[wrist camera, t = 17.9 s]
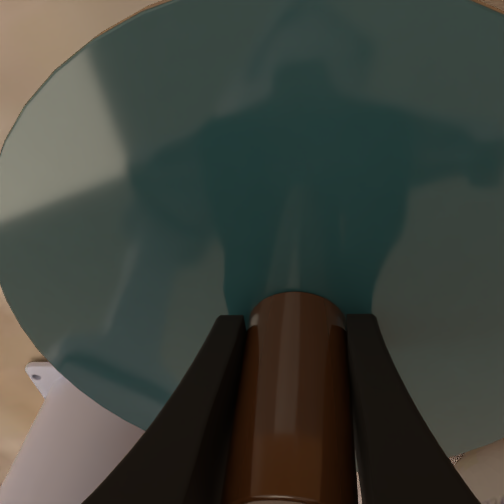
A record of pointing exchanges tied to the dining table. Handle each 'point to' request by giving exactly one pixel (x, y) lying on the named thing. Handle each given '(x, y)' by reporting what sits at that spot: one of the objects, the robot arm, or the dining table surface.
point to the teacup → (484, 472)
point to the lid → (270, 219)
